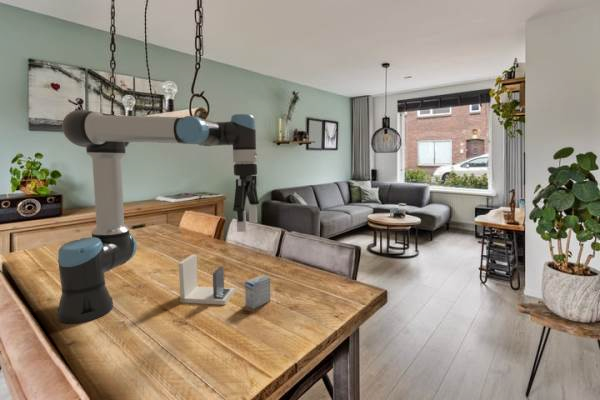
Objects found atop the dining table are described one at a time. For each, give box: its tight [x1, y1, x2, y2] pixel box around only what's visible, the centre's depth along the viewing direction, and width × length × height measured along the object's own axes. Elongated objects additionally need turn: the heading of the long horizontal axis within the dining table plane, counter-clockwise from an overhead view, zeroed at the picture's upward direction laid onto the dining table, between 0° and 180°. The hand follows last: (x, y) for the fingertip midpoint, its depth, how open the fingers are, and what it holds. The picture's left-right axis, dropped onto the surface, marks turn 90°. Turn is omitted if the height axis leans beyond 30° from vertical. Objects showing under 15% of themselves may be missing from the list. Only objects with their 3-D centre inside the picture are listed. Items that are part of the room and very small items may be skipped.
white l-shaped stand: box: [178, 253, 236, 306], centre depth 115 cm, size 16×10×14 cm, turn 83°
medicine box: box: [244, 274, 271, 310], centre depth 110 cm, size 8×4×9 cm, turn 141°
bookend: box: [212, 266, 230, 299], centre depth 114 cm, size 3×7×9 cm, turn 173°
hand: (247, 226), depth 108 cm, fingers open, 13 cm apart
